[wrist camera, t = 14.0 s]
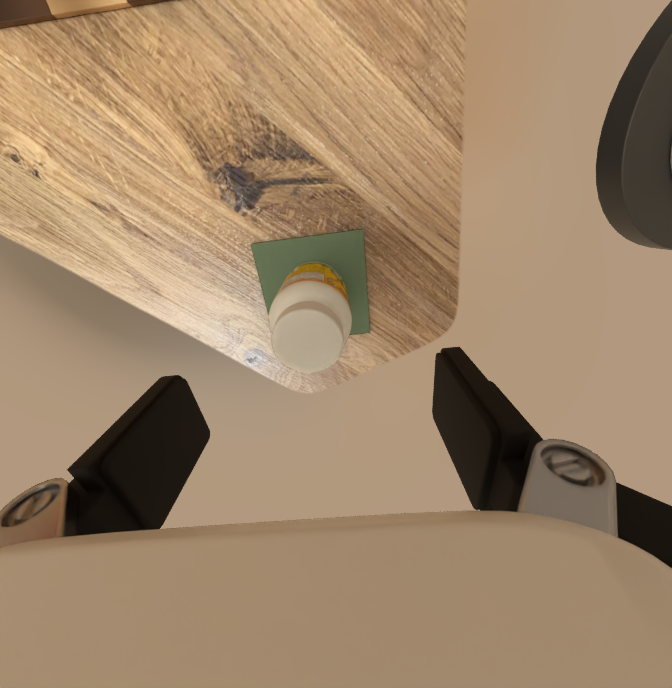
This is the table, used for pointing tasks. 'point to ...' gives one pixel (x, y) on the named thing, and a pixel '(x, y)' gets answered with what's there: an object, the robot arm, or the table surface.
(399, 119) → the table surface
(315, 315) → the supplement bottle
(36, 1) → the chessboard
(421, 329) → the table surface
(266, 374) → the table surface
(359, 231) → the felt mat
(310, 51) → the table surface
